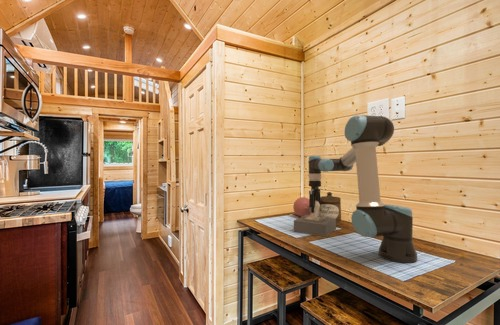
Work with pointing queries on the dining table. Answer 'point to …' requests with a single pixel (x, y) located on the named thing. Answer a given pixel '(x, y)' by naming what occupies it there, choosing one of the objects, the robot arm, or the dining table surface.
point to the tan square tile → (315, 219)
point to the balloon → (302, 207)
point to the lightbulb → (316, 208)
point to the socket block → (315, 226)
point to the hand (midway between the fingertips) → (315, 216)
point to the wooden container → (330, 207)
